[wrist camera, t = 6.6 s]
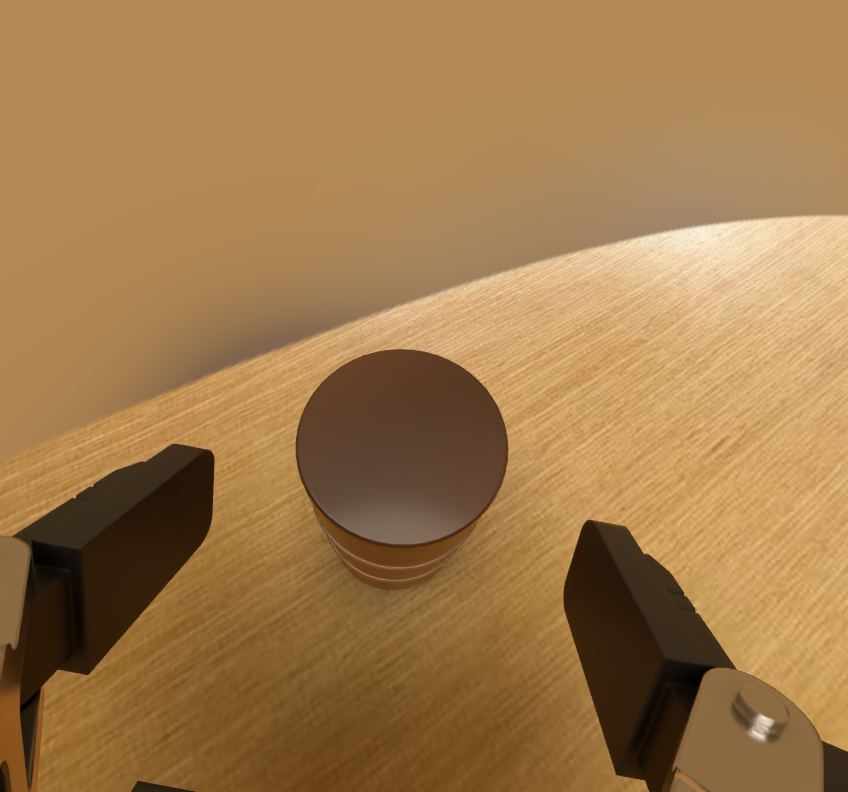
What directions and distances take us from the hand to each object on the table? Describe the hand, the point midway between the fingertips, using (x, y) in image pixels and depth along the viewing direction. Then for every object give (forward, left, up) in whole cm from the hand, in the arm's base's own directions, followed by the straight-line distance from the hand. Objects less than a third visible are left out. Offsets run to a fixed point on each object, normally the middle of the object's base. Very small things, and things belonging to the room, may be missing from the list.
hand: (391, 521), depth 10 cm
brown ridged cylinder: (-1, +1, -7) cm, 7 cm away
